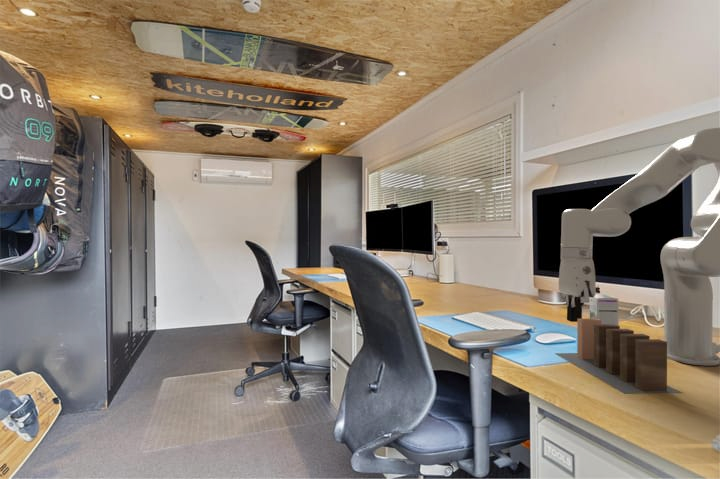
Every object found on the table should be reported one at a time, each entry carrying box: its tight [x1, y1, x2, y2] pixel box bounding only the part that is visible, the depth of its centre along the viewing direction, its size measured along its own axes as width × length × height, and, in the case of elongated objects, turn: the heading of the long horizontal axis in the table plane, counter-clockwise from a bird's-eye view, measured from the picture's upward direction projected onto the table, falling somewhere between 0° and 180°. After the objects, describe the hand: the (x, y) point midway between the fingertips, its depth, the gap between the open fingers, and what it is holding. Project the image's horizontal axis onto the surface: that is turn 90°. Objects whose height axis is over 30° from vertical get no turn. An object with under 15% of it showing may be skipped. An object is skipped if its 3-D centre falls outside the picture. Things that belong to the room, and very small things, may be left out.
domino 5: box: [635, 338, 668, 391], centre depth 77 cm, size 2×5×10 cm, turn 91°
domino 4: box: [620, 333, 651, 383], centre depth 82 cm, size 2×5×10 cm, turn 91°
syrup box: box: [589, 294, 620, 326], centre depth 110 cm, size 6×6×14 cm
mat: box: [554, 352, 684, 395], centre depth 88 cm, size 12×26×1 cm, turn 1°
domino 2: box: [594, 324, 621, 368], centre depth 91 cm, size 2×5×10 cm, turn 91°
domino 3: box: [606, 328, 635, 375], centre depth 86 cm, size 2×5×10 cm, turn 91°
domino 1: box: [576, 317, 601, 359], centre depth 97 cm, size 2×5×10 cm, turn 91°
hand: (574, 321), depth 103 cm, fingers closed
